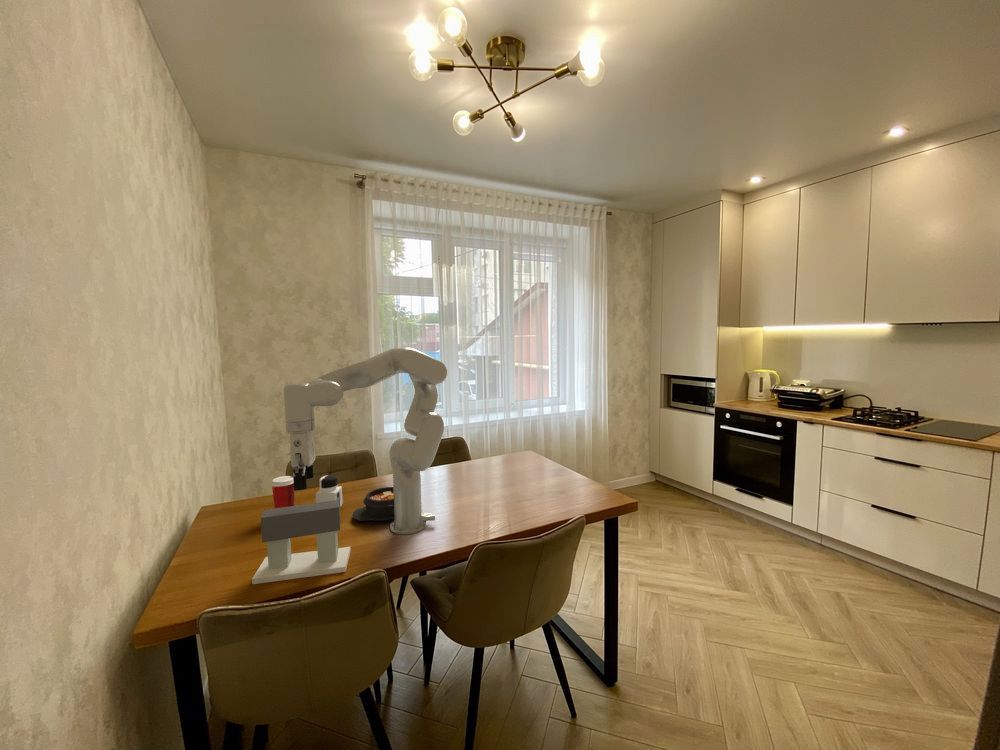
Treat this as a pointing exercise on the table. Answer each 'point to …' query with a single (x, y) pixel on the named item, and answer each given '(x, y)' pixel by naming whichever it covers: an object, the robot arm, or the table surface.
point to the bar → (300, 520)
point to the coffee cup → (283, 491)
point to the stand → (302, 560)
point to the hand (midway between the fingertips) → (304, 483)
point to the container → (329, 490)
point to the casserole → (377, 506)
